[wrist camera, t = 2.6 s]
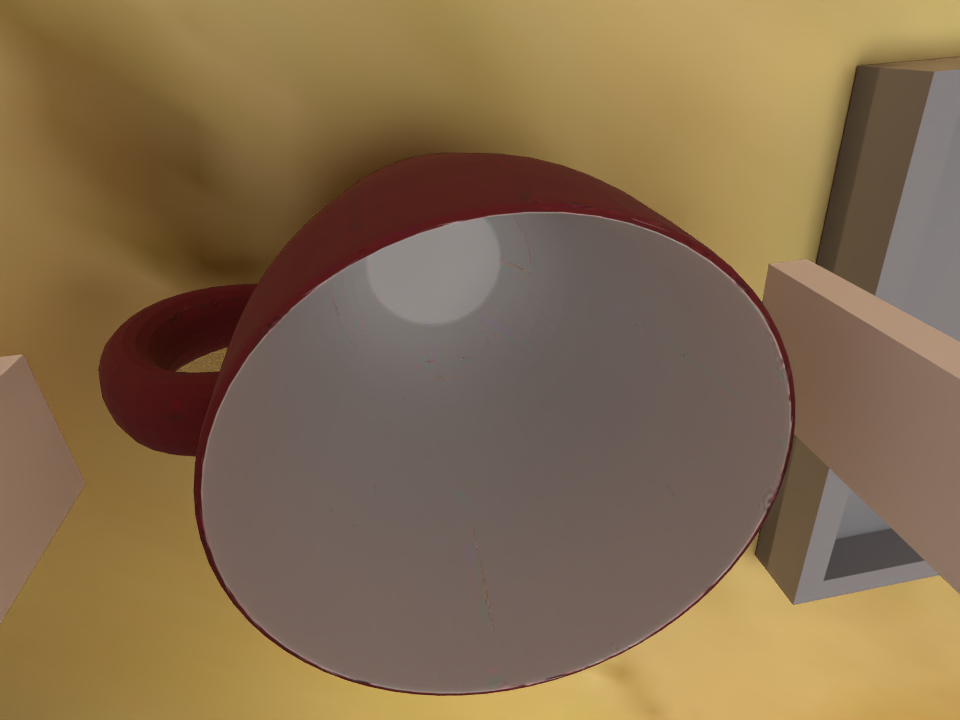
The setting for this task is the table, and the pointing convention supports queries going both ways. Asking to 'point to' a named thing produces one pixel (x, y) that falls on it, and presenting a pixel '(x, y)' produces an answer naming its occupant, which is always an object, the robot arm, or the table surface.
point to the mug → (468, 425)
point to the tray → (896, 280)
